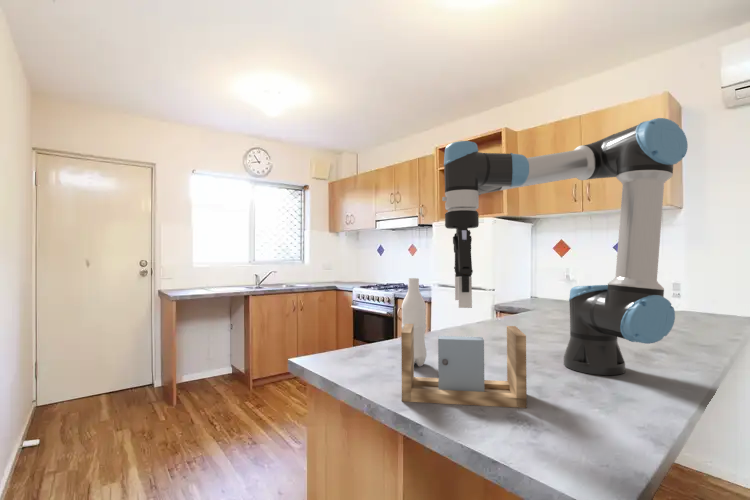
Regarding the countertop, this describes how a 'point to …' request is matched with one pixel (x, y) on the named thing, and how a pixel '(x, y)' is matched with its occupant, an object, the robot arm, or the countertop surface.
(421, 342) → the water bottle
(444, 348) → the door panel
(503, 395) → the door frame
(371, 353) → the countertop surface
